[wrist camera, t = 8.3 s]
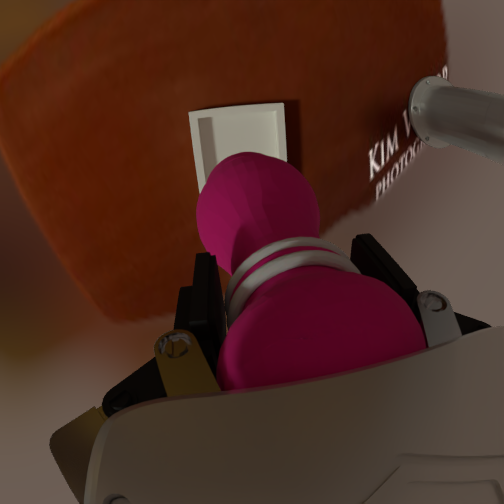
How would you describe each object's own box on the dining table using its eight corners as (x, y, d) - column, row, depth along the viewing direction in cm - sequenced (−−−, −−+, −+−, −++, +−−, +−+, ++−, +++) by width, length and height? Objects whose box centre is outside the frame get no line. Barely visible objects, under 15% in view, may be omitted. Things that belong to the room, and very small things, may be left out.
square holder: (279, 102, 36) (283, 103, 34) (284, 184, 42) (288, 189, 40) (190, 111, 35) (188, 112, 33) (201, 193, 41) (200, 199, 39)
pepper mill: (190, 229, 22) (191, 540, 5) (208, 135, 19) (260, 499, 2) (280, 243, 24) (395, 500, 7) (306, 157, 21) (551, 373, 3)
